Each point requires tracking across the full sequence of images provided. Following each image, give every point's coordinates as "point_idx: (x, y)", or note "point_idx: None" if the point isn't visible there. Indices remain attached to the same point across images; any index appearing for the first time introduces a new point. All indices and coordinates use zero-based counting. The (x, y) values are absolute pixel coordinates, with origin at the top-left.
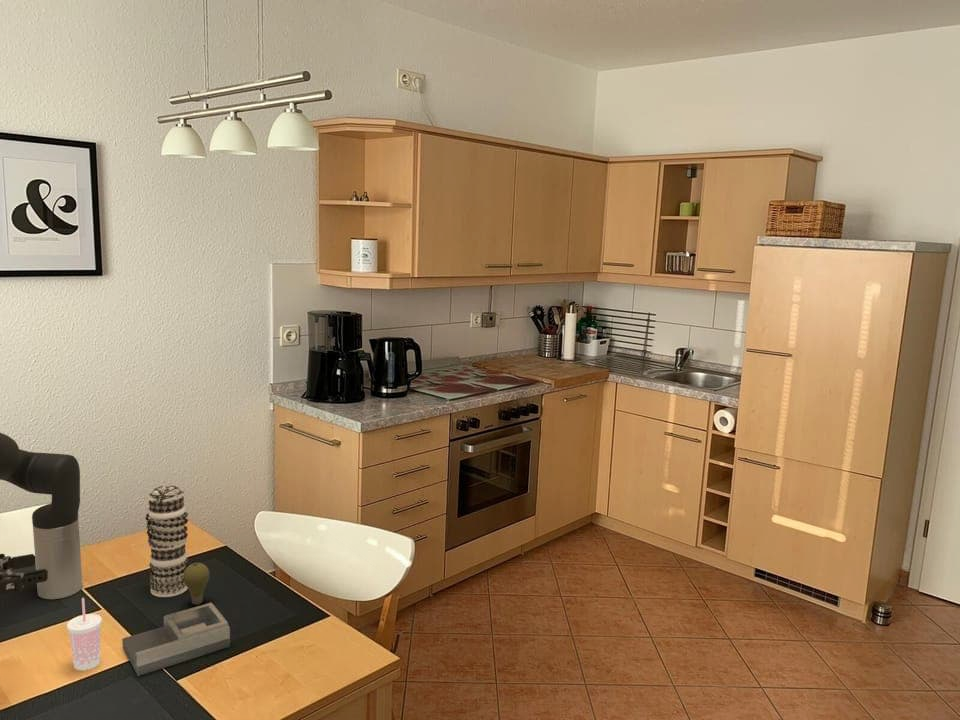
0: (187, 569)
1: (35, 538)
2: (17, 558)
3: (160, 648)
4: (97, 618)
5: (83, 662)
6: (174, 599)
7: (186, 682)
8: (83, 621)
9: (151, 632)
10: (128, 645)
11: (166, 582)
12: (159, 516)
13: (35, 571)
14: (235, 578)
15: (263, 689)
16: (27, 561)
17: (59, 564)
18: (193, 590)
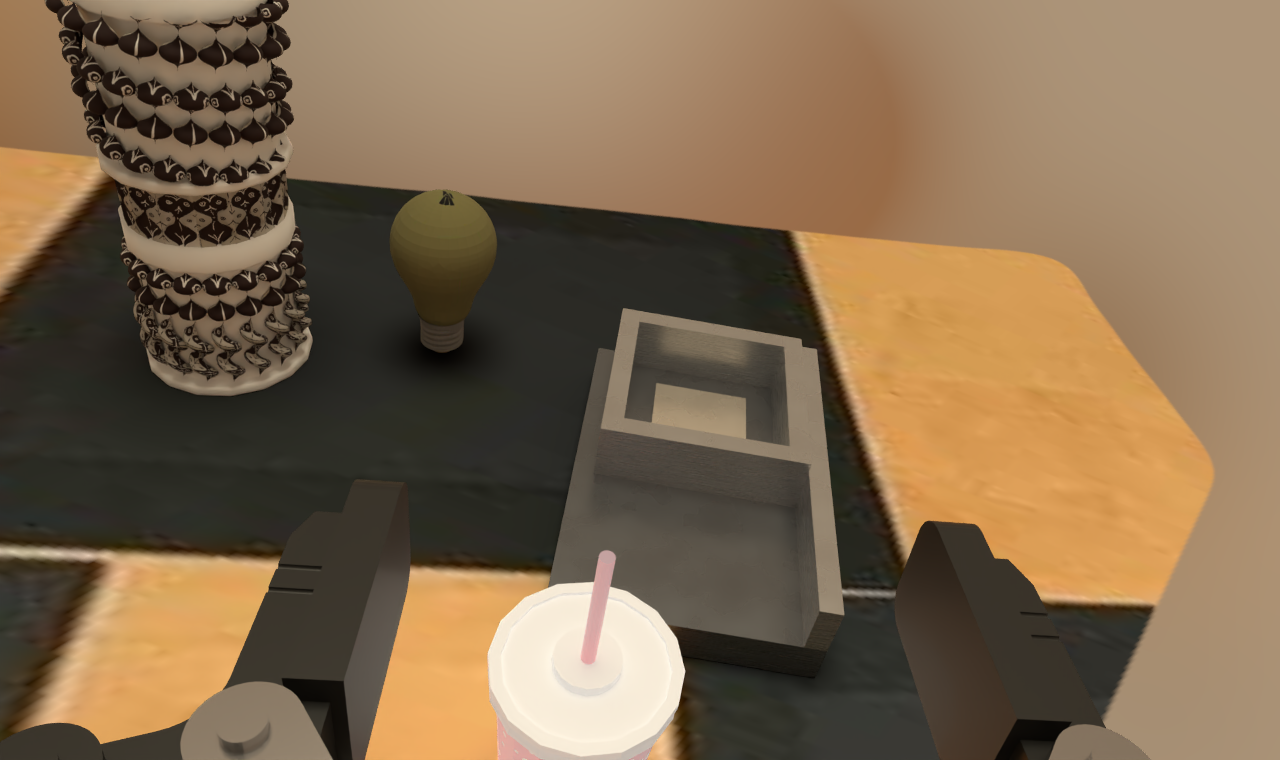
0: (433, 228)
1: None
2: (364, 636)
3: (835, 535)
4: (589, 601)
5: None
6: (332, 372)
7: None
8: (590, 663)
9: (584, 511)
10: None
11: (279, 323)
12: (211, 2)
13: (1013, 609)
14: (378, 229)
15: (1085, 459)
16: (391, 585)
17: None
18: (463, 302)
